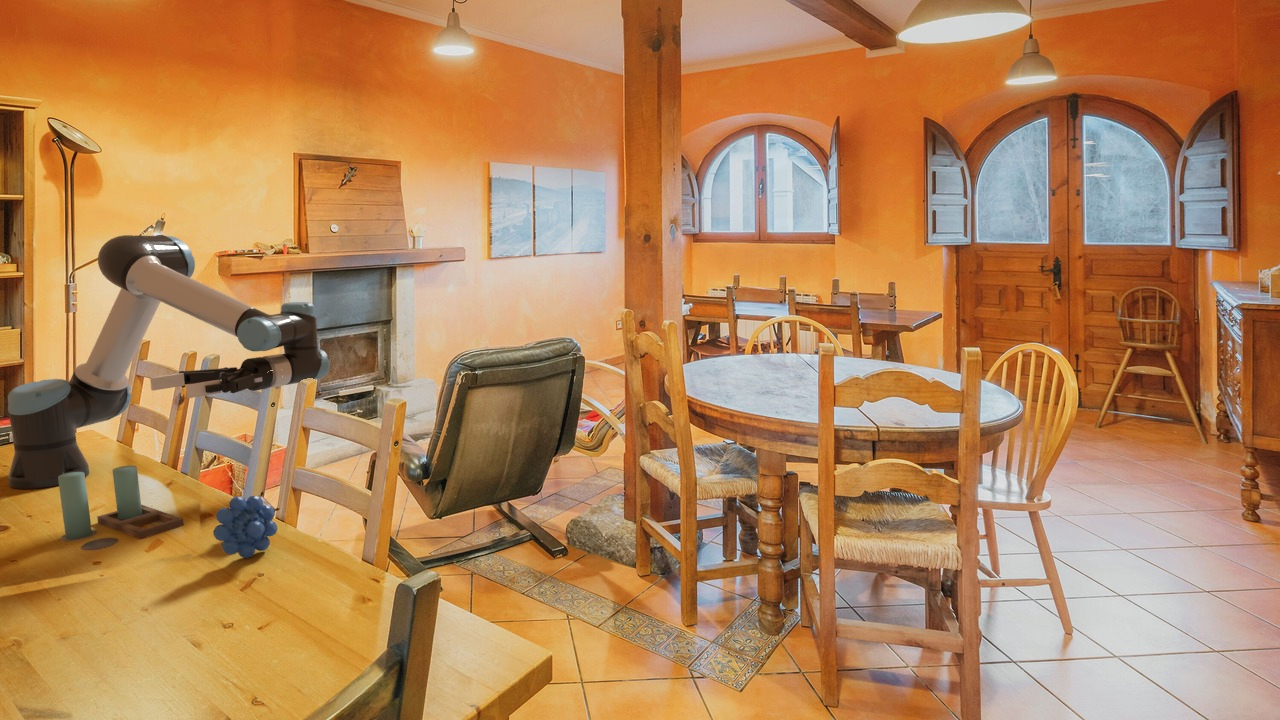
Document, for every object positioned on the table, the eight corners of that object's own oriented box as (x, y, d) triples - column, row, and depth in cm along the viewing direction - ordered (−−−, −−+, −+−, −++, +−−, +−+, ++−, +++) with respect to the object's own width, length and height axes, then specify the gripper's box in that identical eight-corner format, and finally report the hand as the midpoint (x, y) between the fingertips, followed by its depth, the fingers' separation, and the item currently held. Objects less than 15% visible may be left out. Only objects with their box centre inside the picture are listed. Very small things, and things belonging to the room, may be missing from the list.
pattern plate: (51, 542, 141) (50, 536, 140) (98, 528, 147) (97, 522, 147) (93, 560, 133) (92, 554, 132) (140, 544, 139) (140, 538, 139)
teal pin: (120, 524, 150) (113, 467, 148) (143, 520, 152) (137, 464, 150) (118, 530, 146) (111, 472, 144) (142, 526, 148) (135, 469, 146)
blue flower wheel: (232, 575, 127) (225, 509, 125) (209, 566, 130) (203, 502, 128) (292, 550, 137) (287, 489, 135) (270, 543, 140) (265, 483, 138)
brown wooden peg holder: (98, 528, 147) (97, 516, 147) (141, 515, 154) (140, 504, 154) (140, 544, 139) (139, 532, 139) (184, 530, 146) (183, 518, 146)
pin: (67, 533, 142) (59, 473, 140) (93, 529, 144) (85, 470, 142) (64, 540, 138) (56, 479, 136) (90, 536, 140) (82, 476, 138)
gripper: (299, 394, 166) (205, 413, 147) (234, 382, 178) (139, 398, 160) (297, 361, 164) (202, 376, 146) (231, 351, 177) (135, 364, 158)
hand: (169, 387), depth 153 cm, fingers open, 13 cm apart
